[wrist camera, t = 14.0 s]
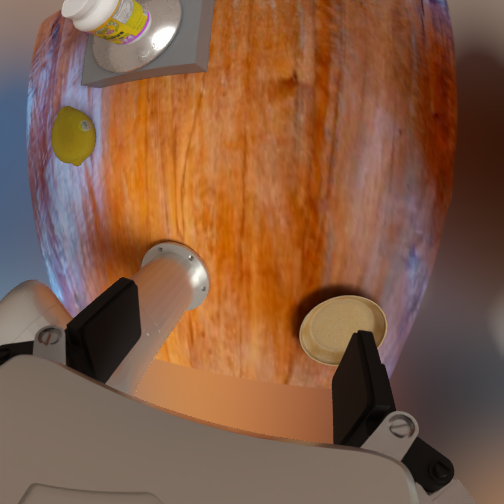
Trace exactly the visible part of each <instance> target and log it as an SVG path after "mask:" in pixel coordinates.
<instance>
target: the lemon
mask: <svg viewBox="0 0 504 504" xmlns="http://www.w3.org/2000/svg"><path fill="white" fill-rule="evenodd" d="M95 143H96V132H95V128H94V125H93V123H92V121H91V120H90V118H89V117H88V116H87V115H86V114H84V113H83V112H81V111H79V110H77V109H74V108H72V107H71V106H66V107H63V108H62V109H60V111H59V113H58V115H57V118H56V120H55V122H54V125H53V128H52V147H53V150H54V153H55V154H56V156H57V157H58V158H59V159H60V160H61V161H62V162H65V163H72V164H73V165H74V166H79V165H81V163H82V162H83V161H84V160H85V159H86V158H87V157H89V156H90V154H91V153H92V152H93V150H94V147H95Z"/></svg>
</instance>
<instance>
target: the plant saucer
mask: <svg viewBox="0 0 504 504" xmlns="http://www.w3.org/2000/svg"><path fill="white" fill-rule="evenodd" d="M358 330H364V331H371V332H372V333H373V336H374V339H375V343H376V346H377V349H378V348H379V347H380V345H381V344H382V342H383V340H384V338H385V336H386V332H387V321H386V316H385V314H384V312H383V311H382V309H381V308H380V307H379V306H378V305H377V304H376V303H375V302H373V301H371V300H369V299H367V298H364V297H360V296H354V295H345V296H338V297H334V298H331V299H328V300H326V301H324V302H322V303H320V304H319V305H317V306H316V307H314V308H313V309H312V310H311V311H310V312H309V313H308V314H307V315H306V317H305V318H304V320H303V322H302V324H301V327H300V332H299V339H300V343H301V346H302V348H303V350H304V351H305V353H306V354H307V355H308V356H309V357H310V358H312V359H313V360H315V361H317V362H319V363H322V364H325V365H330V366H339V364H340V361H341V359H342V357H343V355H344V353H345V350H346V348H347V346H348V343H349V341H350V339H351V336H352V334H353V333H354V332H355V333H357V332H358Z"/></svg>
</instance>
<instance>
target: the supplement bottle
mask: <svg viewBox="0 0 504 504" xmlns="http://www.w3.org/2000/svg"><path fill="white" fill-rule="evenodd" d="M62 15H63V16H64V17H66V18H68V19H73V24H74V26H75V28H76V29H78V30H80V31H83V32H86V33H89V34H92V35H94V36H97V37H100V38H102V39H105V40H108V41H110V42H113V43H115V44H118V45H129V44H132V43H134V42H136V41H137V40H139V39H140V38H141V37H142V36H143V35H144V34H145V33H146V32H147V30H148V28H149V26H150V23H151V15H150V12H149V11H148V10H147V9H146V8H145V7H143V6H142V5H140V4H139V3H137V2H136V1H134V0H65V2H64V4H63V6H62Z"/></svg>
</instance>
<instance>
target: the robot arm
mask: <svg viewBox="0 0 504 504" xmlns="http://www.w3.org/2000/svg"><path fill="white" fill-rule="evenodd" d="M161 247H162V248H161ZM192 256H193V257H192ZM209 288H210V277H209V273H208V270H207V268H206V265H205V263H204V262H203V261H202V259H201V258H200V257H199V256H198V255H197V254H196V253H195V252H194V251H193V250H192V249H190V248H189V247H187V246H185V245H183V244H180V243H176V242H162V243H159V244H156V245H155V246H153V247H152V248H151V249H150V250H148V251H147V253H146V254H145V255H144V257H143V260H142V264H141V269H140V270H139V271H138V272H136V273H135V274H134V275H133V276H132V277H130V278H129V279H127V278H124V277H122V278H120V279H119V280H118V281H116V282H115V283H114V284H113V285H112V286H110V287H109V288H108V289H107V290H106V291H104V292H103V293H102V294H101V295H100V296H99V297H97V298H96V299H95V300H94V301H93V302H92V303H90V304H89V305H88V306H87V307H86V308H85V309H84V310H82V311H81V312H80V313H79V314H78V315H77V316H76V317H74V318H73V317H72V316H71V315H70V313H69V312H68V311H67V310H66V308H65V307H64V306H63V304H62V303H61V302H60V301H59V299H58V298H57V297H56V295H55V294H54V293H53V292H52V290H51V289H50V288H49V287H48V286H47V285H46V284H44V283H43V282H41V281H38V280H27V281H24V282H22V283H20V284H19V285H17V286H16V287H14V288H13V289H12V290H11V291H10V292H9V293H8V294H7V295H6V296H5V297H4V298H3V299H2V300H1V301H0V504H477V503H476V502H475V501H474V499H473V498H472V497H471V495H470V494H469V493H468V491H467V490H466V489H465V487H464V486H463V485H462V484H461V482H460V481H459V480H458V479H457V480H456V481H455V480H454V479H453V476H454V467H453V465H452V463H451V461H450V460H449V459H447V458H446V457H445V456H443V455H442V454H441V453H439V452H438V451H436V450H435V449H434V448H432V447H431V446H430V445H428V444H426V443H425V442H424V441H422V440H421V439H420V438H418V437H417V434H418V432H419V429H418V428H419V427H418V424H417V421H416V420H415V419H414V417H412V416H411V415H410V414H408V413H405V412H402V411H396V408H395V403H394V399H393V395H392V391H391V387H390V383H389V379H388V375H387V371H386V368H385V365H384V364H381V361H380V357H379V353H378V350H377V346H376V343H375V339H374V336H373V333H372V332H371V331H364V330H358V332H357V333H355V332H354V333H353V334H352V336H351V339H350V341H349V343H348V346H347V348H346V350H345V353H344V355H343V357H342V359H341V361H340V364H339V366H338V368H337V370H336V372H335V374H334V376H333V379H332V399H333V442H334V444H326V443H317V442H309V441H301V440H294V439H288V438H281V437H275V436H269V435H264V434H258V433H253V432H249V431H244V430H239V429H235V428H231V427H227V426H223V425H219V424H215V423H211V422H207V421H204V420H201V419H197V418H193V417H191V416H187V415H184V414H181V413H178V412H175V411H172V410H169V409H166V408H163V407H160V406H157V405H155V404H152V403H149V402H147V401H144V400H141V399H139V398H136V397H135V394H136V391H137V388H138V386H139V384H140V382H141V379H142V377H143V375H144V374H145V372H146V370H147V368H148V366H149V365H150V363H151V362H152V360H153V359H154V357H155V356H156V354H157V353H158V351H159V350H160V348H161V347H162V345H163V344H164V342H165V341H166V339H167V338H168V336H169V335H170V333H171V332H172V330H173V329H174V327H175V326H176V324H177V323H178V321H179V320H180V318H181V317H182V315H183V314H184V312H185V311H188V310H192V309H194V308H197V307H198V306H199V305H201V304H202V302H203V301H204V300H205V298H206V296H207V295H208V292H209Z"/></svg>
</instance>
